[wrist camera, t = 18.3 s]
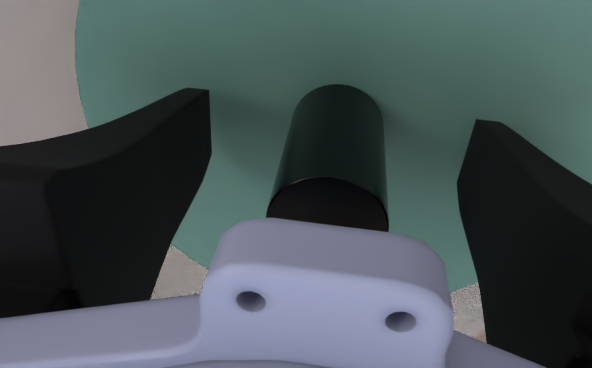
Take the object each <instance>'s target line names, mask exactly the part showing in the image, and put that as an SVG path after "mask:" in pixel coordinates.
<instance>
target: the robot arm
mask: <svg viewBox="0 0 592 368" xmlns="http://www.w3.org/2000/svg"><path fill="white" fill-rule="evenodd" d="M211 155H212V143H211V120H210V96H209V90H206V89H197V88H188V87H187V88H184V89H181V90H179V91H176V92H174V93H172V94H170V95H168V96H166V97H164V98H161V99H159V100H157V101H155V102H153V103H151V104H149V105H147V106H145V107H143V108H141V109H138V110H136V111H134V112H131V113H129V114H127V115H124V116H122V117H120V118H117V119H115V120H113V121H110V122H107V123H104V124H102V125H99V126H96V127H92V128H89V129H86V130H83V131H79V132H76V133H72V134H68V135H63V136H59V137H54V138H50V139H45V140H41V141H35V142H29V143H23V144H16V145H8V146H0V368H592V184H591V183H589V182H587V181H586V180H584V179H582V178H580V177H579V176H577V175H576V174H574V173H573V172H571V171H570V170H568V169H567V168H565V167H563V166H562V165H560V164H559V163H558V162H556V161H555V160H553V159H552V158H550V157H549V156H548V155H546V154H545V153H543V152H542V151H541V150H539V149H538V148H537V147H535V146H534V145H533V144H531V143H530V142H529V141H527V140H526V139H525V138H523V137H522V136H521V135H519V134H518V133H517V132H515V131H514V130H512V129H511V128H510V127H508V126H506V125H505V124H503V123H501V122H498V121H489V120H480V119H476V121H475V124H474V127H473V131H472V134H471V137H470V140H469V144H468V147H467V150H466V153H465V157H464V160H463V163H462V166H461V170H460V173H459V176H458V179H457V194H458V204H459V212H460V216H461V220H462V224H463V228H464V231H465V235H466V239H467V242H468V246H469V250H470V253H471V257H472V260H473V264H474V268H475V271H476V275H477V279H478V284H479V288H480V294H481V301H482V309H483V316H484V323H485V332H486V341H487V343H484V342H482V341H479V340H477V339H475V338H472V337H470V336H467V335H465V334H462V333H460V332H457V331H455V330H454V325H453V308H452V303H451V297H450V292H449V286H448V281H447V275H446V269H445V264H444V261H443V260H442V259H441V258H440V257H439V256H438V254H437V253H436V252H435V251H434V250H433V249H432V248H431V247H430V246H429V245H428V243H425V242H422V241H419V240H416V239H413V238H410V237H408V236H405V235H402V234H398V233H390V232H382V231H374V230H366V229H358V228H350V227H342V226H334V225H326V224H318V223H310V222H302V221H294V220H286V219H278V218H261V219H249V220H242V221H240V222H239V223H237V224H236V225H234V226H232V227H231V228H229V229H228V230H226V231H225V232H223V233H222V235H221V238H220V240H219V243H218V246H217V248H216V251H215V254H214V257H213V259H212V262H211V265H210V267H209V270H208V273H207V275H206V278H205V281H204V284H203V287H202V290H201V293H200V294H195V295H187V296H179V297H171V298H163V299H154V300H150V298H151V295H152V292H153V289H154V287H155V284H156V281H157V278H158V275H159V272H160V270H161V267H162V264H163V262H164V259H165V256H166V254H167V251H168V249H169V246H170V244H171V242H172V240H173V238H174V236H175V234H176V232H177V230H178V228H179V226H180V224H181V222H182V220H183V219H184V217H185V215H186V213H187V211H188V209H189V207H190V205H191V203H192V201H193V200H194V198H195V196H196V194H197V192H198V190H199V188H200V186H201V184H202V182H203V179H204V176H205V174H206V171H207V168H208V165H209V161H210V158H211Z"/></svg>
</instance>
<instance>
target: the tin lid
mask: <svg viewBox="0 0 592 368" xmlns="http://www.w3.org/2000/svg"><path fill="white" fill-rule="evenodd" d="M75 60H76V72H77V79H78V86H79V93H80V99H81V102H82V106H83V110H84V113H85V117H86V121H87V124H88V128H92V127H96V126H99V125H102V124H104V123H107V122H110V121H113V120H115V119H117V118H120V117H122V116H124V115H127V114H129V113H131V112H134V111H136V110H138V109H141V108H143V107H145V106H147V105H149V104H151V103H153V102H155V101H157V100H159V99H161V98H164V97H166V96H168V95H170V94H172V93H174V92H176V91H179V90H181V89H184V88H187V87H188V88H197V89H206V90H209V96H210V120H211V143H212V155H211V158H210V161H209V165H208V168H207V171H206V174H205V176H204V179H203V182H202V184H201V186H200V188H199V190H198V192H197V194H196V196H195V198H194V200H193V201H192V203H191V205H190V207H189V209H188V211H187V213H186V215H185V217H184V219H183V220H182V222H181V224H180V226H179V228H178V230H177V232H176V234H175V236H174V238H173V240H172V242H171V244H172V245H173V246H175V247H176V248H177V249H179V250H180V251H182V252H183V253H184V254H186V255H187V256H188V257H190V258H191V259H193V260H194V261H196V262H198V263H199V264H201V265H203V266H204V267H206V268H207V269H209V267H210V265H211V262H212V259H213V257H214V254H215V251H216V248H217V246H218V243H219V240H220V238H221V235H222V233H223V232H225V231H226V230H228V229H229V228H231V227H232V226H234V225H236V224H237V223H239V222H240V221H242V220H249V219H261V218H278V219H286V220H294V221H302V222H310V223H318V224H326V225H334V226H342V227H350V228H358V229H366V230H374V231H382V232H390V233H398V234H402V235H405V236H408V237H410V238H413V239H416V240H419V241H422V242H425V243H428V245H429V246H430V247H431V248H432V249H433V250H434V251H435V252H436V253H437V254H438V256H439V257H440V258H441V259H442V260H443V261H444V264H445V269H446V275H447V281H448V286H449V292H453V291H455V290H458V289H461V288H463V287H466V286H468V285H471V284H474V283H476V282H478V279H477V275H476V271H475V268H474V264H473V260H472V257H471V253H470V250H469V246H468V242H467V239H466V235H465V231H464V228H463V224H462V220H461V216H460V212H459V204H458V194H457V179H458V176H459V173H460V170H461V166H462V163H463V160H464V157H465V153H466V150H467V147H468V144H469V140H470V137H471V134H472V131H473V127H474V124H475V121H476V119H480V120H489V121H498V122H501V123H503V124H505V125H506V126H508V127H510V128H511V129H512V130H514V131H515V132H517V133H518V134H519V135H521V136H522V137H523V138H525V139H526V140H527V141H529V142H530V143H531V144H533V145H534V146H535V147H537V148H538V149H539V150H541V151H542V152H543V153H545V154H546V155H548V156H549V157H550V158H552V159H553V160H555V161H556V162H558V163H559V164H560V165H562V166H563V167H565V168H567V169H568V170H570V171H571V172H573V173H574V174H576V175H577V176H579V177H580V178H582V179H584V180H586V181H587V182H589V183H591V184H592V0H80V1H79V9H78V16H77V23H76V31H75Z"/></svg>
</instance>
